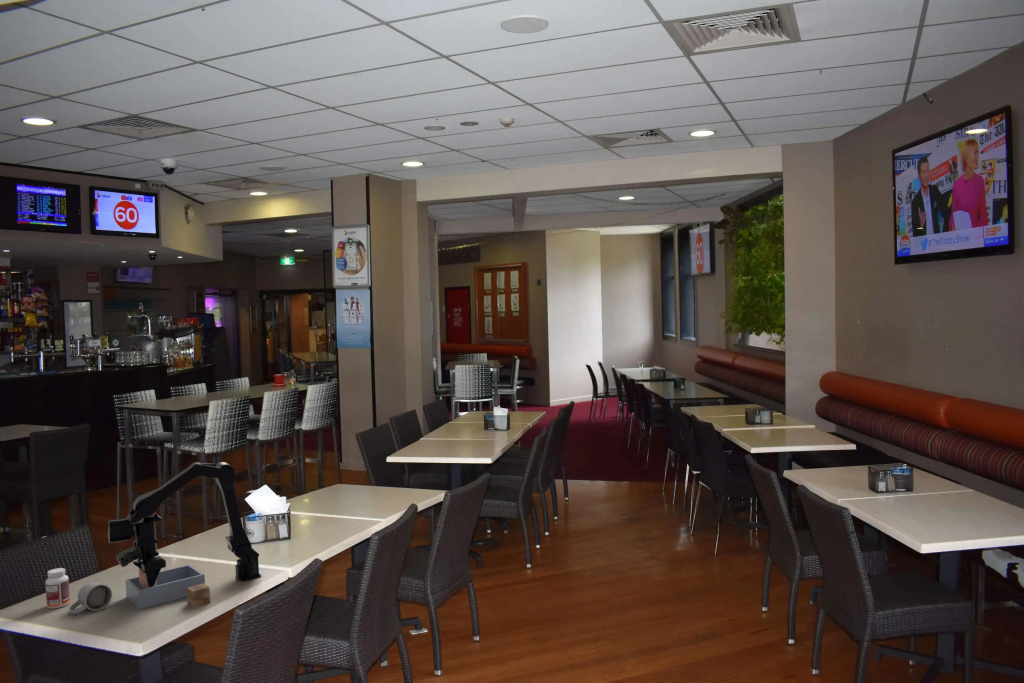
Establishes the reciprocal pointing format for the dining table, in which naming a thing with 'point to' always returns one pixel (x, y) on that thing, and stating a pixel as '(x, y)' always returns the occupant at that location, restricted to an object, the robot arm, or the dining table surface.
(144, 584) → the terracotta cylinder
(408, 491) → the dining table surface
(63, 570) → the pill bottle
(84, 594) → the ceramic mug
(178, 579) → the tote
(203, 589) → the walnut cube
